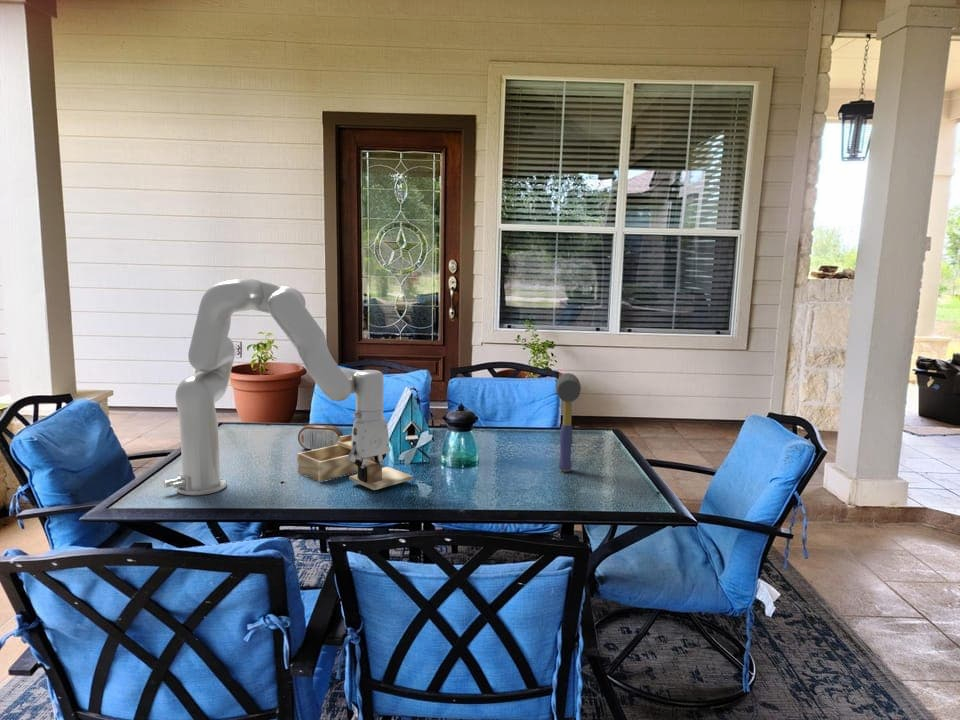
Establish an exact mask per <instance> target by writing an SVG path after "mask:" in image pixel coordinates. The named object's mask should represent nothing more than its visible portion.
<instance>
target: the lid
mask: <svg viewBox="0 0 960 720" xmlns="http://www.w3.org/2000/svg"><path fill="white" fill-rule="evenodd" d="M365 468H367V482H363V481H361V480H359V479H358V466H357V473H356V474H352V475H348V476H349V477H348V478H349V481H351V482H354V483H356V484H359V485H361V486H364V487H366V488H368V489H370V490H373V491H376V490H380V489H383V488H387V487H390V486H394V485H398V484H401V483H405V482H408V481H411V480H413V475H411V474H409V473H406V472H403V471H400V470H397V469H395V468H392V467H391V466H384V467H383V463H382V464H379V463H376V462H373V461H371V460H366V465H365Z"/></svg>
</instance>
